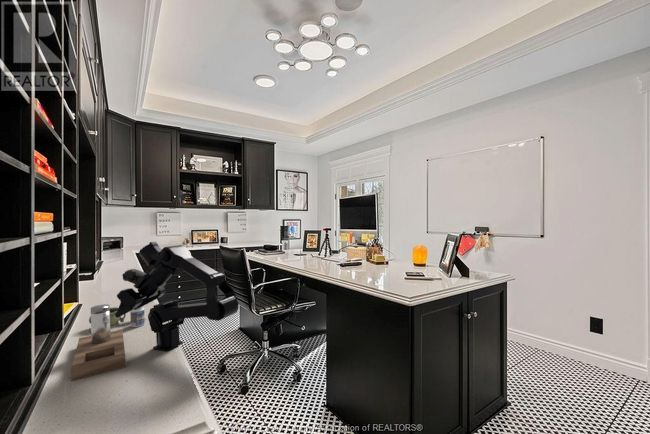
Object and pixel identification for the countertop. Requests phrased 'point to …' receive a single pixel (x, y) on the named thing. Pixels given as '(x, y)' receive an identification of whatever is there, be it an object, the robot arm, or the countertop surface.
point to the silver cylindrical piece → (100, 324)
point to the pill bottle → (137, 317)
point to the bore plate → (98, 356)
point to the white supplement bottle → (145, 310)
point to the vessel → (113, 318)
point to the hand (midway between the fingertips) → (125, 312)
